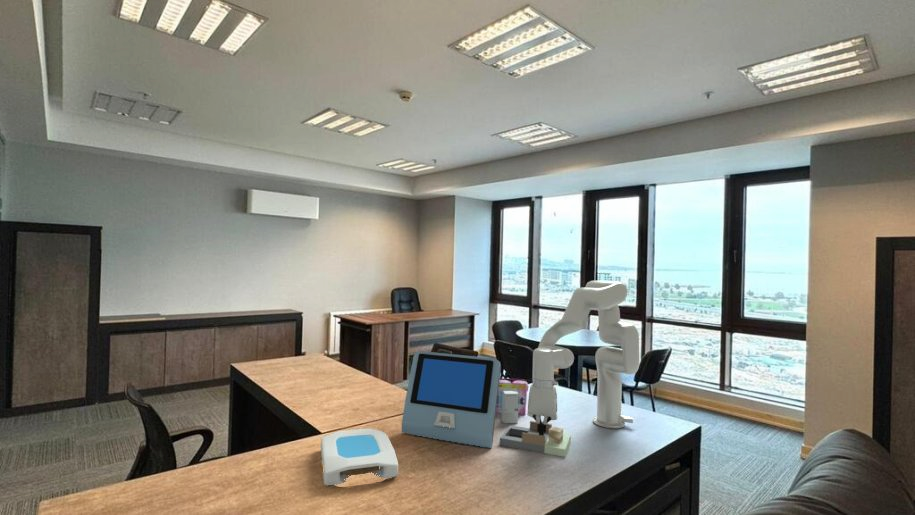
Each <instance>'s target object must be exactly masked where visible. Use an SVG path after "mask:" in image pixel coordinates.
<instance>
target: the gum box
mask: <svg viewBox="0 0 915 515" xmlns="http://www.w3.org/2000/svg"><path fill="white" fill-rule="evenodd" d="M529 386H530V385H529V384H528V382H527V380H526V379H523V378H522V379H521V378H501V377H500V380H499V389H498V398H497V407H496V414H502V396H503V391H516V392H517V393H518V394H519V400H518V415H522V416H523V415H524V416H525V415H526V414H527V413H526V407H527V401H528V400H527V399H528V398H527V397H528V396H527V395H528V393H529V392H528V391H529V388H530V387H529Z"/></svg>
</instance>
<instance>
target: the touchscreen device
mask: <svg viewBox="0 0 915 515" xmlns="http://www.w3.org/2000/svg"><path fill="white" fill-rule="evenodd" d="M501 364H502V363H501V362H500V361H499V360H498V359H496V358H494V357H483V356H476V355H463V354H462V355H461V354H454V353H444V352H441V353H440V352H432V351H423V350H422V351H421V350H418V351H416V352H415V353H414V354H413V357H412V363H411V368H410V373H409V374H410V375H409V379H408V385H407V389H406V394H405V395H406V396H405V400H404V405H403V406H404V408H403V412H402V419H401V432H402V433H403V434H405V433H407V434H406V435H409V434H412V435H411V436H414V435H417V436H416V437H420V436H422V437H421V438H425V437H428V438H427V439H431V438H433V440H437V439H439V440H438V441H443V440H445V442H449V441H451V443H455V442H457V443H456V444H461V443H464V444H463V445H467V444H469V445H468V446H473V445H475V447H479V446H480V448H486V447H487V449H491V448H493V443H494V435H495V434H494V433H495V422H496V415H497V413H496V407H497V398H498V389H499V380H500V378H501V370H502V365H501ZM443 426H444V427H443ZM449 427H450V428H449Z"/></svg>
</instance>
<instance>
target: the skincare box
mask: <svg viewBox="0 0 915 515" xmlns="http://www.w3.org/2000/svg"><path fill="white" fill-rule="evenodd" d="M518 400H519V394H518V393H517V392H516V391H503V396H502V413H501V422H502V423H503V424H518V420H519V414H518Z"/></svg>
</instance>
